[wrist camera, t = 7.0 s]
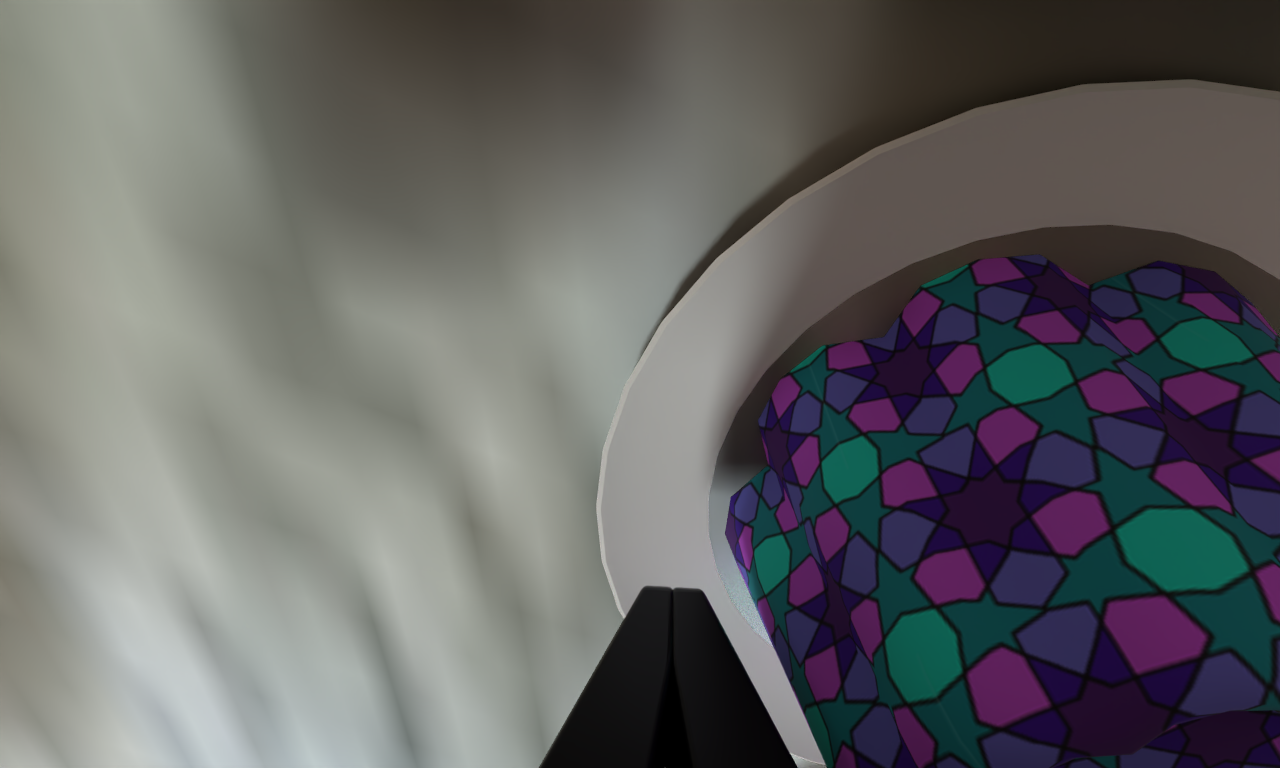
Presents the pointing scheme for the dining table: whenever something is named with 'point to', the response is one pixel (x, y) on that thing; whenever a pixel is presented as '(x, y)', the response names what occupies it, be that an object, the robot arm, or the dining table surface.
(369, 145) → the dining table surface
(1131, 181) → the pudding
